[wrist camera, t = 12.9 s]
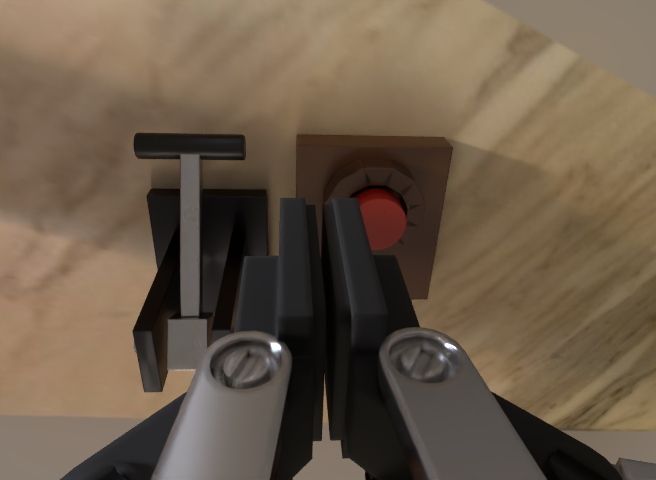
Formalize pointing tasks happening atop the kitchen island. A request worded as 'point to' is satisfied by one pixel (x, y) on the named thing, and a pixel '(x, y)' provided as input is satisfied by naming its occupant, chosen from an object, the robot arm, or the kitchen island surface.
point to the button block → (387, 173)
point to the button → (381, 217)
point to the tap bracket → (218, 267)
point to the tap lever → (190, 234)
